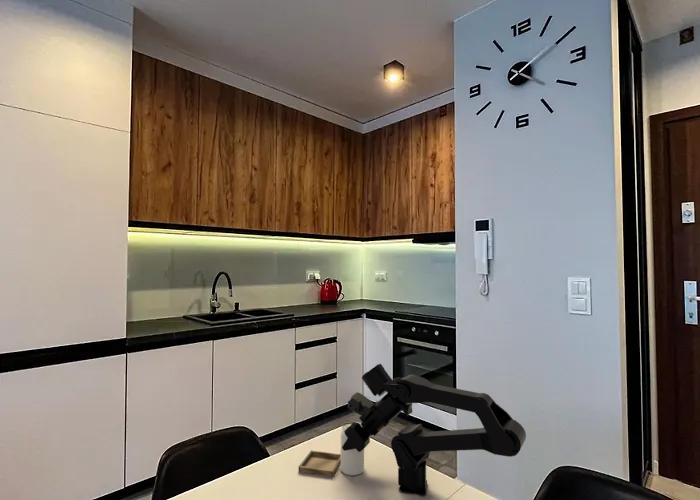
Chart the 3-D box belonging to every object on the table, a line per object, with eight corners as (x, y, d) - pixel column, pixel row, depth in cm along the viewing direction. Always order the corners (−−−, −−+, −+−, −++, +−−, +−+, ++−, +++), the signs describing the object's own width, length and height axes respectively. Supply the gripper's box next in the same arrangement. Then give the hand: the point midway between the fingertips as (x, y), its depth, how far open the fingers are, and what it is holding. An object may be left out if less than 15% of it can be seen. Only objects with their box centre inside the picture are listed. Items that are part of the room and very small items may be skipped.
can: (362, 477, 101) (361, 431, 101) (338, 475, 102) (338, 429, 103) (365, 465, 107) (365, 421, 108) (343, 463, 109) (343, 420, 109)
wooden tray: (342, 459, 110) (342, 454, 111) (332, 477, 101) (332, 471, 101) (311, 455, 113) (311, 450, 113) (298, 472, 103) (298, 466, 104)
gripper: (377, 376, 113) (344, 409, 117) (351, 395, 96) (313, 432, 100) (403, 408, 109) (367, 440, 113) (381, 433, 92) (340, 470, 96)
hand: (347, 444), depth 106 cm, fingers closed on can, 6 cm apart
